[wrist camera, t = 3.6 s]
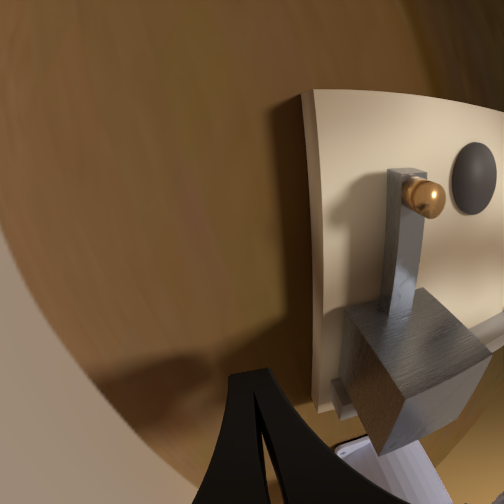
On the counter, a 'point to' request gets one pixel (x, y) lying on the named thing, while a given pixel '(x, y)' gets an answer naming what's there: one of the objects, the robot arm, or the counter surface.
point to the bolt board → (374, 213)
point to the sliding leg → (407, 333)
